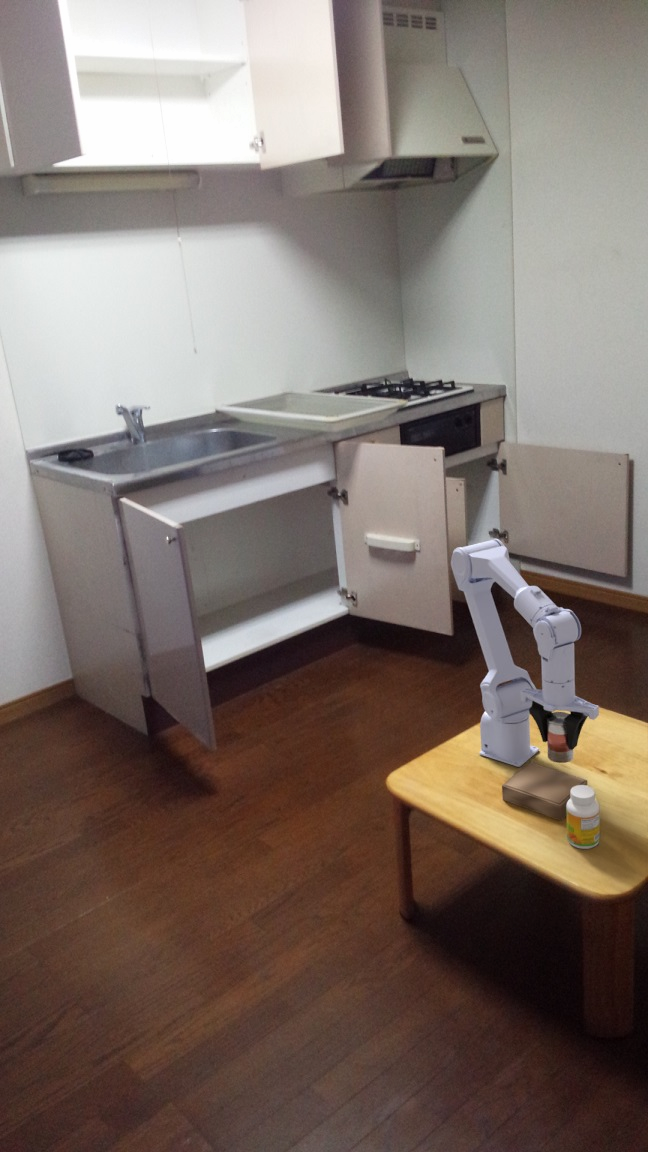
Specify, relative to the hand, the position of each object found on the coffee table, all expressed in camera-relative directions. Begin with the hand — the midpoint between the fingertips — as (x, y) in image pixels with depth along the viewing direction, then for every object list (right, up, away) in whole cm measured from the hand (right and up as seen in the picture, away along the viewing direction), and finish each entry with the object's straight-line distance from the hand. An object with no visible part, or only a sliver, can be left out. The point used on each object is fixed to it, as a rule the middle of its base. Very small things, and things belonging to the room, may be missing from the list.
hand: (559, 743), depth 165 cm
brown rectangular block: (-2, -10, +2) cm, 11 cm away
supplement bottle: (+1, -15, -12) cm, 19 cm away
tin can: (0, -3, +1) cm, 3 cm away
